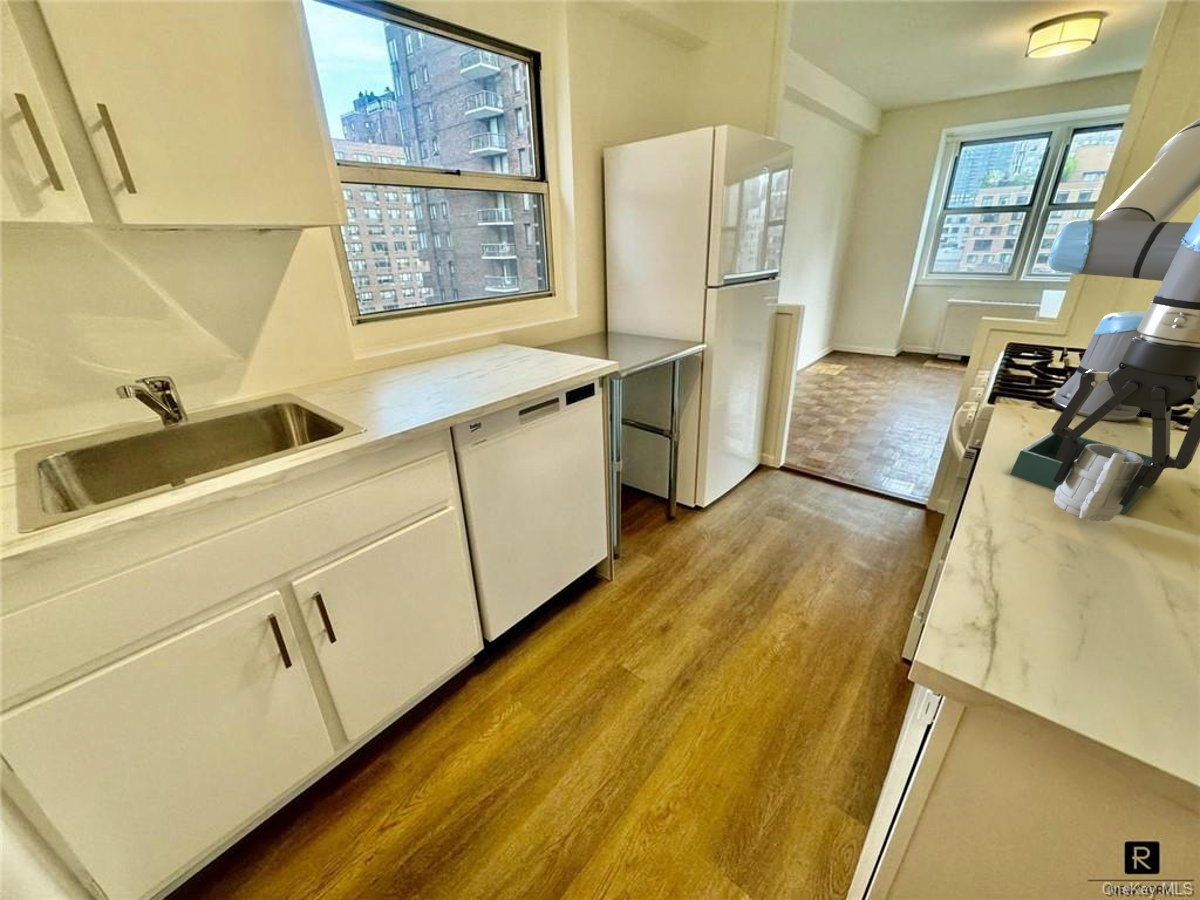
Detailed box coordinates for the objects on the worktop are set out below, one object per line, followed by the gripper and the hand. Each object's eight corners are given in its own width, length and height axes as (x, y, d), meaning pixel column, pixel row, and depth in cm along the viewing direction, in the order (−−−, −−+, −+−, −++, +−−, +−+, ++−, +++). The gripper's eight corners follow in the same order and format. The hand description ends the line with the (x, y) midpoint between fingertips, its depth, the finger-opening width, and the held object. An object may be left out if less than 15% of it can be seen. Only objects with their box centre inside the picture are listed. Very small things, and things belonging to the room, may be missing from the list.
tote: (1044, 451, 97) (1054, 429, 95) (1152, 485, 86) (1167, 461, 83) (1009, 474, 89) (1020, 450, 87) (1124, 515, 78) (1140, 488, 75)
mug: (1116, 508, 76) (1158, 440, 70) (1114, 542, 68) (1161, 468, 63) (1053, 489, 81) (1088, 424, 75) (1045, 519, 73) (1082, 449, 67)
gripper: (1067, 328, 68) (1003, 469, 78) (1295, 363, 53) (1179, 532, 64) (1085, 321, 71) (1022, 458, 82) (1303, 353, 57) (1192, 514, 67)
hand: (1090, 490), depth 73 cm, fingers closed on mug, 7 cm apart
